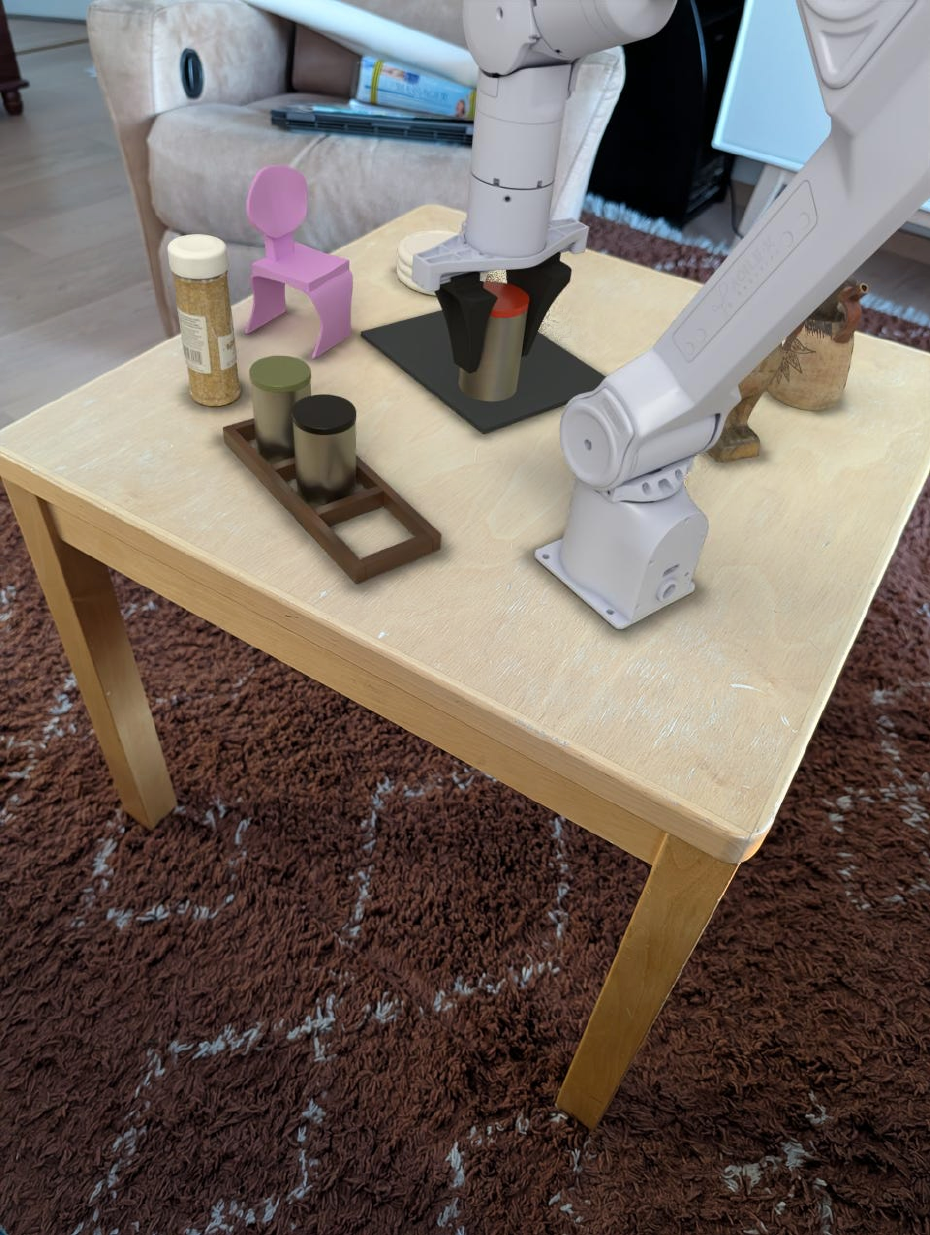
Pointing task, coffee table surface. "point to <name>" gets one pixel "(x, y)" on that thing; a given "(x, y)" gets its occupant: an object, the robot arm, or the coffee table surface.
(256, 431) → the herb tin
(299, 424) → the cylinder
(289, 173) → the toy chair
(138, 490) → the coffee table surface
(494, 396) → the paprika tin
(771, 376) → the brown carved statuette
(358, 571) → the spice rack
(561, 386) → the mat
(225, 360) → the sprinkles bottle
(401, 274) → the cream round stack
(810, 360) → the figurine
